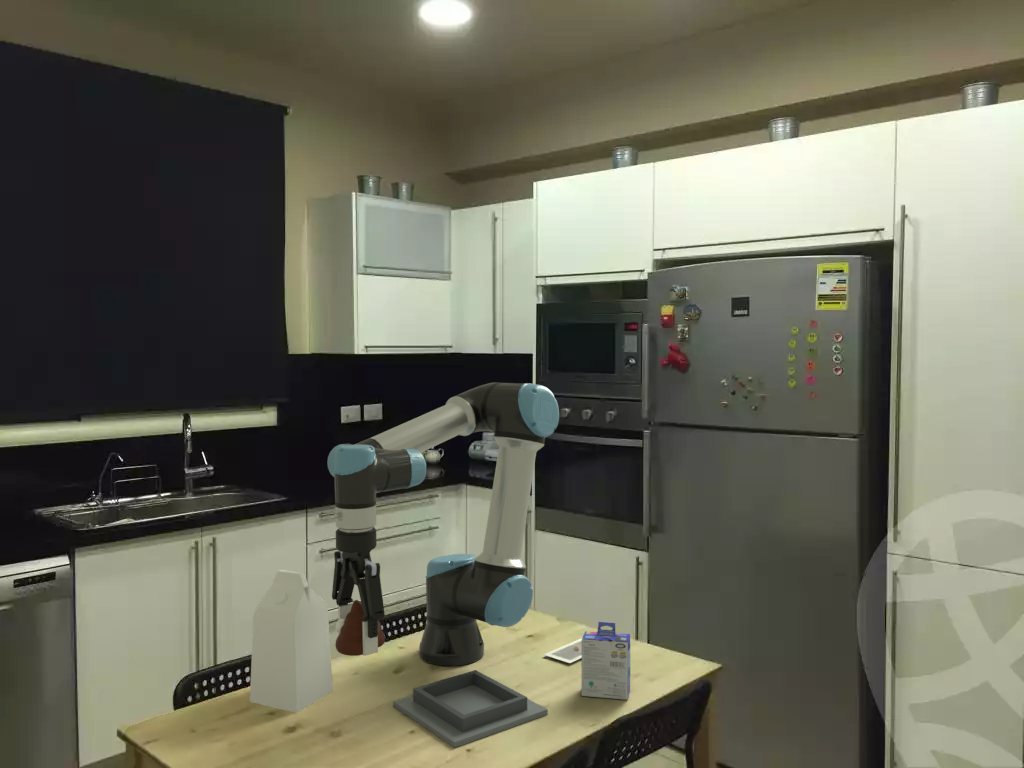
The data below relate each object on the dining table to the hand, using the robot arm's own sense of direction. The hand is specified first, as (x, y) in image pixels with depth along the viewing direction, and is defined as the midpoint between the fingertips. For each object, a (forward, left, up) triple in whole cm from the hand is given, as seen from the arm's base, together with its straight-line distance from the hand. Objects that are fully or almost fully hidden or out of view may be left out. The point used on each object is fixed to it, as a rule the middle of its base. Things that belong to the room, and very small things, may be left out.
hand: (358, 645), depth 157 cm
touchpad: (-3, +59, -16) cm, 61 cm away
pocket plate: (+7, +21, -16) cm, 27 cm away
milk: (-21, -4, -16) cm, 27 cm away
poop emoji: (0, 0, -1) cm, 1 cm away
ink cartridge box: (+18, +48, -16) cm, 53 cm away
